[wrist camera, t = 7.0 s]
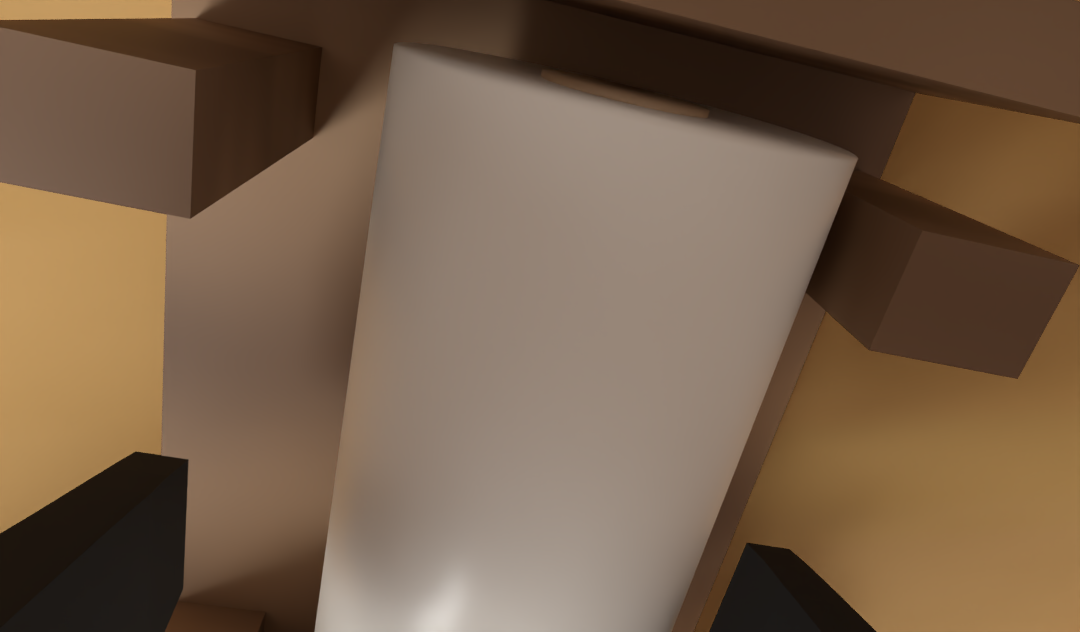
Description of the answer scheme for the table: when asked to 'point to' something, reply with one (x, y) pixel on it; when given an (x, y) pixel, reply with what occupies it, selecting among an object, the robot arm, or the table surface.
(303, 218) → the holder
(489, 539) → the cylinder
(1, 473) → the table surface
